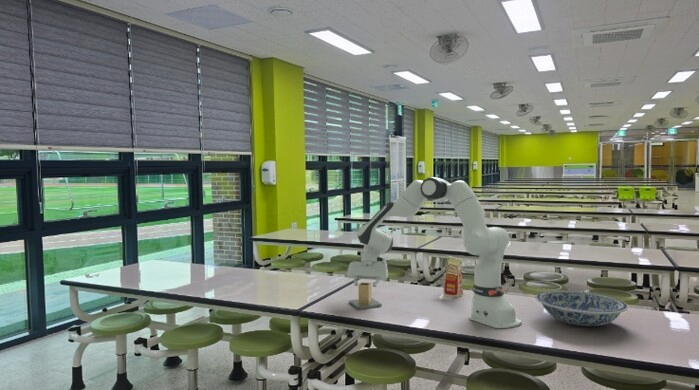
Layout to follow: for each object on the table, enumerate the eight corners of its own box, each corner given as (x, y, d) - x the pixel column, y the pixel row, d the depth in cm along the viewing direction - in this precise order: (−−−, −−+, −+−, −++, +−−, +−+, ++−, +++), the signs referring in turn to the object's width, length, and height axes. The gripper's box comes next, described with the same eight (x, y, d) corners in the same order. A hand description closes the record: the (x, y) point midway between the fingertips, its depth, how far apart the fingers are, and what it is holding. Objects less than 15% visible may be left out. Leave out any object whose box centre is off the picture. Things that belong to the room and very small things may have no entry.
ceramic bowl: (638, 321, 192) (638, 298, 192) (612, 345, 168) (612, 318, 168) (554, 305, 217) (554, 284, 216) (521, 323, 193) (521, 300, 192)
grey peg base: (381, 306, 221) (381, 293, 220) (358, 309, 216) (358, 296, 216) (371, 299, 232) (370, 287, 231) (348, 303, 227) (348, 290, 227)
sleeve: (371, 301, 226) (371, 283, 225) (368, 304, 221) (368, 285, 220) (361, 300, 227) (361, 282, 227) (358, 303, 222) (358, 284, 222)
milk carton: (443, 295, 237) (442, 257, 236) (448, 291, 245) (447, 253, 244) (460, 297, 233) (460, 258, 232) (465, 293, 241) (465, 255, 240)
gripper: (348, 257, 233) (343, 281, 225) (388, 259, 227) (384, 283, 219) (351, 264, 238) (346, 288, 229) (390, 266, 232) (386, 290, 223)
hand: (365, 285), depth 224 cm, fingers open, 8 cm apart
